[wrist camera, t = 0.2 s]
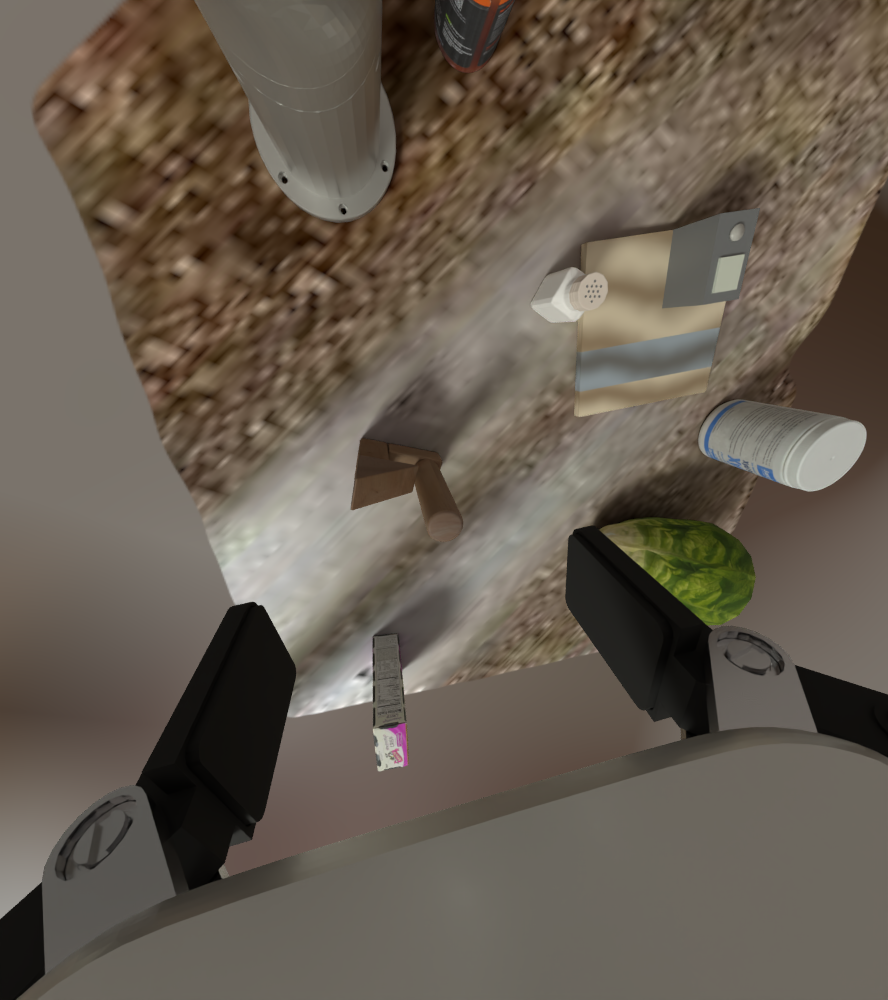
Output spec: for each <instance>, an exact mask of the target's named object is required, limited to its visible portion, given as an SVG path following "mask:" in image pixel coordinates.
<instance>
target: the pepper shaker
mask: <svg viewBox="0 0 888 1000" xmlns="http://www.w3.org/2000/svg"><path fill="white" fill-rule="evenodd" d="M607 293H608V282H607V280H606V278H605V277H604V275H603V274H601V273H598V272H593V273H589V274H584V273H583V272H582V271H580V270H579V269H577V268H575V267H570V268H567V269H564V270H561V271H558V272H554V273H551V274H548V275H547V276H546V277H545V279H544V280H543V282H542V284H541V286H540V287H539V289H538V291H537V293H536V295H535V296H534V298H533V300H532V302H531V307H532V309H533V310H534V311H536V312H537V313H538V314H540V315H541V316H542V317H544V318H545V319H546V320H548V321H549V322H552V323H556V322H575V321H576V320H578V319H579V318H580V317H581V316H582V314H583V313H584V311H590V310H593V309H596V308H598V307H599V306H600V305H601V304H602V303H603V302H604V300H605V298H606V295H607Z"/></svg>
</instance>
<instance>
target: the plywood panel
mask: <svg viewBox="0 0 888 1000" xmlns="http://www.w3.org/2000/svg"><path fill="white" fill-rule="evenodd" d="M672 236H673V230H668V231H662V232H655V233H648V234H641V235H634V236H627V237H621V238H614V239H607V240H600V241H593V242H587V243H585V244H582V245H581V266H580V271H582V272H583V273H584V274H589V273H593V272H598V273H601V274H603V275H604V277H605V278H606V280H607V282H608V293H607V295H606V298H605V300H604V302H603V303H602V304H601V305H600V306H599V307H598V308H596V309H593V310H590V311H584V313H583V314H582V316H581V317H580V318H579V319H578V337H577V361H576V384H575V408H574V415H575V416H577V417H582V416H587V415H592V414H597V413H602V412H607V411H612V410H617V409H622V408H627V407H632V406H637V405H642V404H647V403H652V402H657V401H662V400H667V399H672V398H677V397H682V396H687V395H692V394H697V393H702V392H706V388H707V384H708V379H709V375H710V370H711V366H712V361H713V357H714V352H715V348H716V343H717V339H718V334H719V330H720V325H721V321H722V316H723V312H724V307H725V303H726V301H723V302H717V303H712V304H706V305H697V306H685V307H673V308H662V305H663V298H664V291H665V284H666V277H667V270H668V263H669V257H670V250H671V243H672Z"/></svg>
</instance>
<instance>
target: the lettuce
mask: <svg viewBox="0 0 888 1000" xmlns="http://www.w3.org/2000/svg"><path fill="white" fill-rule="evenodd" d="M599 530H600V531H601V532H602V533H603V534H604V535H606V536H607V537H608V538H609V539H610V540H611V541H612V542H613V543H615V544H616V545H617V546H618V547H619V548H620V549H621V550H623V551H624V552H625V553H626V554H627V555H628V556H629V557H630V558H632V559H633V560H634V561H635V562H636V563H637V564H638V565H640V566H641V567H642V568H643V569H644V570H645V571H646V572H647V573H649V574H650V575H651V576H652V577H653V578H654V579H655V580H657V581H658V582H659V583H660V584H661V585H662V586H663V587H664V588H666V589H667V590H668V591H669V592H670V593H671V594H672V595H674V596H675V597H676V598H677V599H678V600H679V601H680V602H681V603H683V604H684V605H685V606H686V607H687V608H688V609H689V610H691V611H692V612H693V613H694V614H695V615H696V616H697V617H698V618H700V619H701V620H702V621H703V622H704V623H705V624H706V625H721V624H723V623H725V622H727V621H729V620H731V619H733V618H735V617H736V616H738V615H739V614H740V613H741V611H742V610H743V609H744V607H745V606H746V605H747V603H748V602H749V600H750V599H751V597H752V592H753V588H754V583H755V578H756V577H755V572H754V567H753V563H752V558H751V556H750V554H749V553H748V552H747V550H746V549H745V548H744V546H743V545H742V543H741V542H740V541H739V540H738V539H736V538H735V537H733V536H732V535H731V534H729V533H727V532H726V531H724V530H723V529H721V528H719V527H718V526H716V525H714V524H712V523H707V522H702V521H694V520H686V519H669V518H657V517H647V518H638V519H631V520H627V521H624V522H622V523H618V524H613V525H607V526H605V527H603V528H601V529H599Z"/></svg>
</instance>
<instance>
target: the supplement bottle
mask: <svg viewBox="0 0 888 1000" xmlns="http://www.w3.org/2000/svg"><path fill="white" fill-rule="evenodd" d="M514 1H515V0H435V9H434V28H435V35H436V39H437V42H438V45H439V48H440V50H441V52H442V54H443V56H444V57H445V59H446V60H447V62H448V63H449V64H450V65H451V66H452V67H453V68H455V69H456V70H458V71H460V72H464V73H471V72H475V71H478V70H480V69H481V68H482V67H484V65H486V63H487V62H488V61H489V60H490V58H491V56H492V54H493V52H494V50H495V48H496V46H497V44H498V41H499V39H500V37H501V34H502V31H503V29H504V26H505V24H506V21H507V19H508V16H509V14H510V11H511V9H512V6H513V4H514Z"/></svg>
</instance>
